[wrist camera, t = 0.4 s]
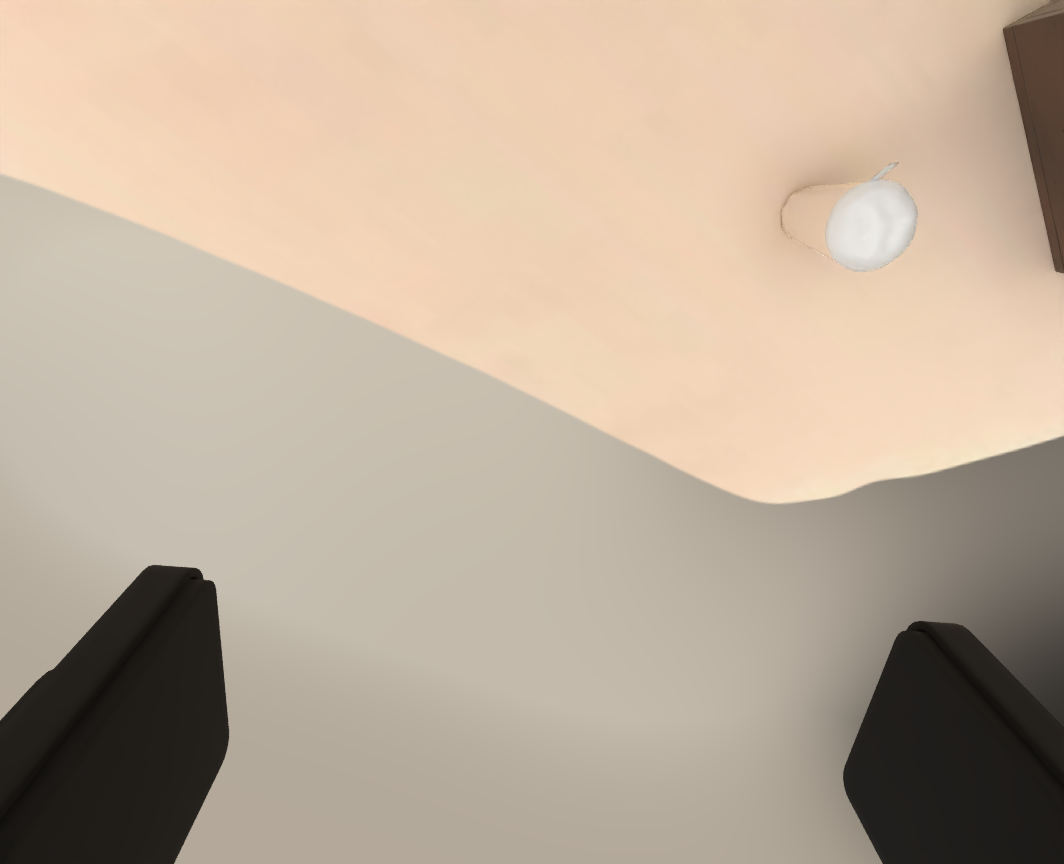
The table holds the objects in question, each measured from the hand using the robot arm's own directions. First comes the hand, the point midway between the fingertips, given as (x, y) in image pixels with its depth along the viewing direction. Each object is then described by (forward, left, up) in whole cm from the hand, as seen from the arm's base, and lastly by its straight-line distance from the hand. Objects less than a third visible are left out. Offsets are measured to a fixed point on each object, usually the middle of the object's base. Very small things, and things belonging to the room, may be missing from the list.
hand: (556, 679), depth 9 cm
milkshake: (+5, +17, -36) cm, 40 cm away
